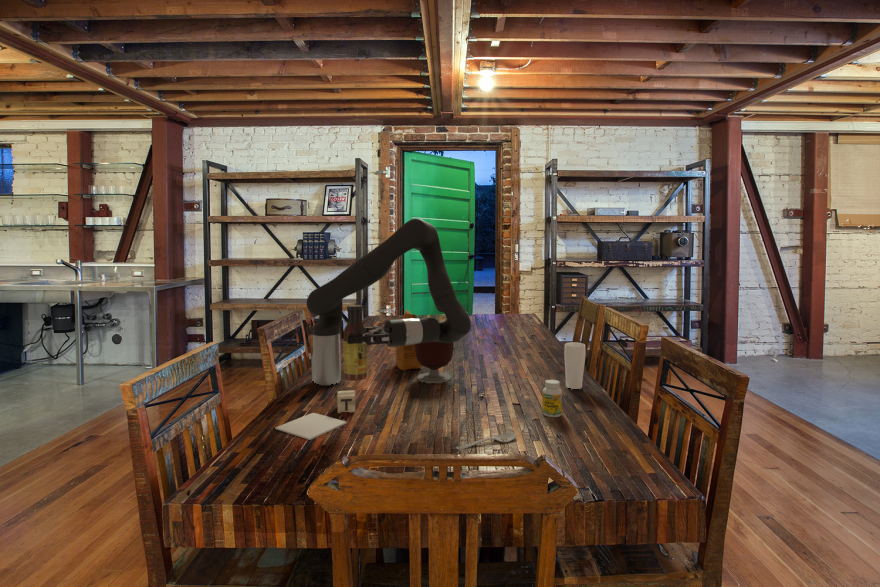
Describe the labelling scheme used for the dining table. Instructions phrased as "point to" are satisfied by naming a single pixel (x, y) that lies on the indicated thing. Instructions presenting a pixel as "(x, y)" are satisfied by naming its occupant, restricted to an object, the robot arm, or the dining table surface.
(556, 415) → the supplement bottle
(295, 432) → the beige mat
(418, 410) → the dining table surface
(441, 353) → the mate gourd
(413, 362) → the coffee package
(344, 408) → the letter block
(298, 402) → the dining table surface
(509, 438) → the spoon
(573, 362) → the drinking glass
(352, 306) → the sauce bottle
